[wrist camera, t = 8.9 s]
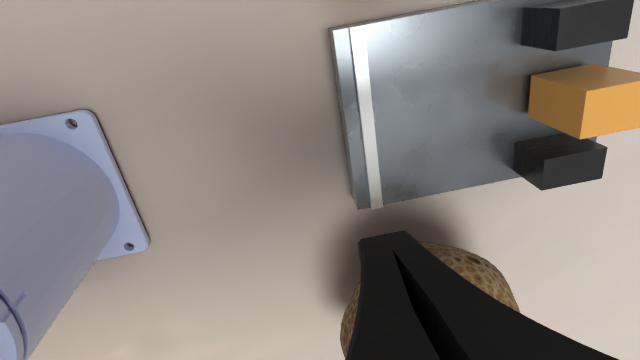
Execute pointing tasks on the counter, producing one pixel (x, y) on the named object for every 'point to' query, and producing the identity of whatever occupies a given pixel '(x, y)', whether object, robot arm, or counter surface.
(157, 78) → the counter surface
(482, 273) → the natural sponge
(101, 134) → the robot arm
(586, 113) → the block
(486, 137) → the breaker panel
